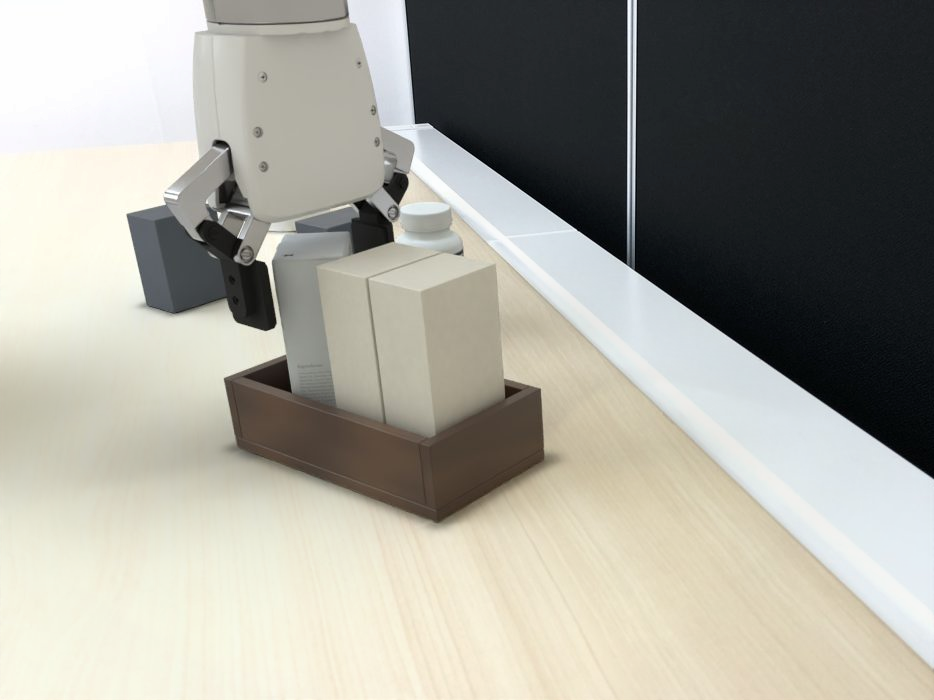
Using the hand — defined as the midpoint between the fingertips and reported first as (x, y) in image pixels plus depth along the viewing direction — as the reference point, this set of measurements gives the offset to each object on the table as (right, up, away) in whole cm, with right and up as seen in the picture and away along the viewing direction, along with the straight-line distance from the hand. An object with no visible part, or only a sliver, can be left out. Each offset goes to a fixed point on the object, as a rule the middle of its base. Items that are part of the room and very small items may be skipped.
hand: (320, 303), depth 68 cm
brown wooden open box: (+4, -9, +2) cm, 10 cm away
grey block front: (-5, +4, +27) cm, 27 cm away
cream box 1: (+5, -9, +1) cm, 10 cm away
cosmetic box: (0, -7, +4) cm, 8 cm away
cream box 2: (+8, -10, -1) cm, 13 cm away
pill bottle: (+3, +2, +23) cm, 23 cm away
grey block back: (-20, +5, +29) cm, 36 cm away
